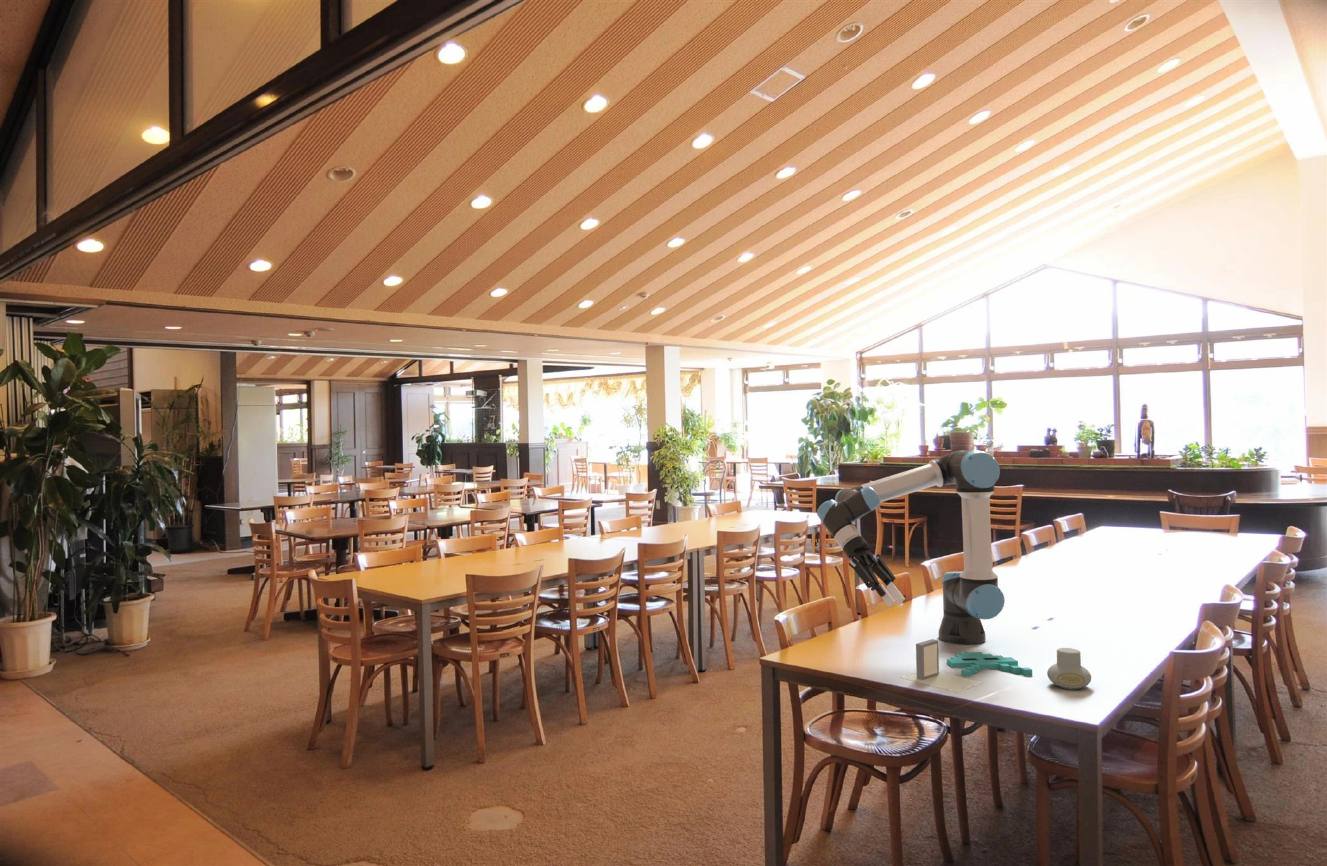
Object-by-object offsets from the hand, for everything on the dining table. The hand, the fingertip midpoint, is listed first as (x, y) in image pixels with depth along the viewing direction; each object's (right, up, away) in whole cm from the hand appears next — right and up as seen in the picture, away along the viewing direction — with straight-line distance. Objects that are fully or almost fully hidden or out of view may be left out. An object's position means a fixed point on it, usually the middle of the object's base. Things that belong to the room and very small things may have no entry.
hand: (896, 602), depth 245 cm
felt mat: (+9, -20, -12) cm, 25 cm away
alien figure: (+27, -20, +2) cm, 34 cm away
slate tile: (+7, -20, -8) cm, 22 cm away
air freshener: (+43, -20, -18) cm, 50 cm away
